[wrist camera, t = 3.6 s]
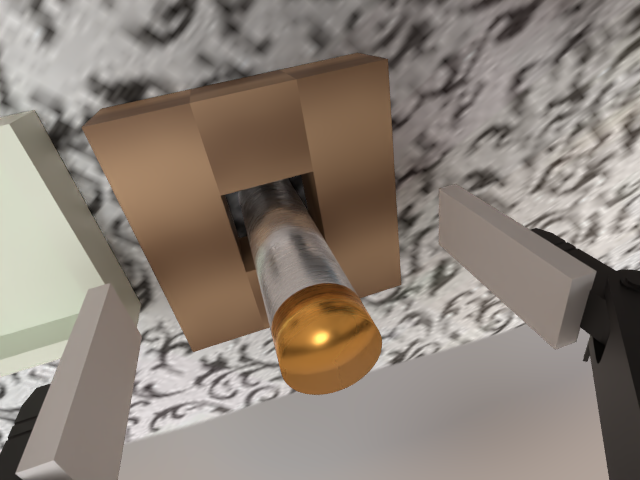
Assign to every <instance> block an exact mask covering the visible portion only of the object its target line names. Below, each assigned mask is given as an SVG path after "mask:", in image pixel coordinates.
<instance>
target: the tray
mask: <svg viewBox="0 0 640 480" xmlns="http://www.w3.org/2000/svg"><path fill="white" fill-rule="evenodd" d="M108 283H111V285H112V286H113V288H114V290H115V291H116V293H117V295H118V297H119V298H120V300H121V302H122V303H123V305H124V307H125V309H126V310H127V312H128V314H129V315H130V317H131V319H132V321H133V322H134V324H135V326H136V327H137V324H138V318H139V313H140V308H141V303H140V301H139V299H138V298H137V296H136V294H135V292H134V290H133V289H132V287H131V285H130V283H129V281H128V279H127V278H126V276H125V274H124V272H123V270H122V269H121V267H120V265H119V263H118V261H117V259H116V258H115V256H114V254H113V252H112V250H111V249H110V247H109V245H108V243H107V241H106V239H105V238H104V236H103V234H102V232H101V230H100V229H99V227H98V225H97V223H96V221H95V219H94V218H93V216H92V214H91V212H90V210H89V209H88V207H87V205H86V203H85V201H84V199H83V198H82V196H81V194H80V192H79V190H78V189H77V187H76V185H75V183H74V181H73V179H72V178H71V176H70V174H69V172H68V170H67V169H66V167H65V165H64V163H63V161H62V159H61V158H60V156H59V154H58V152H57V150H56V149H55V147H54V145H53V143H52V141H51V139H50V138H49V136H48V134H47V132H46V130H45V129H44V127H43V125H42V123H41V121H40V119H39V118H38V116H37V114H36V112H35V110H32V111H28V112H23V113H18V114H14V115H9V116H4V117H0V377H3V376H6V375H9V374H12V373H16V372H19V371H22V370H25V369H29V368H32V367H35V366H38V365H41V364H45V363H48V362H51V361H54V360H58V359H61V357H62V354H63V352H64V349H65V347H66V344H67V342H68V339H69V337H70V334H71V332H72V329H73V327H74V324H75V322H76V319H77V317H78V314H79V312H80V309H81V306H82V304H83V301H84V299H85V296H86V294H87V291H88V289H91V288H94V287H98V286H101V285H105V284H108Z"/></svg>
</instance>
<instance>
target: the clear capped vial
mask: <svg viewBox="0 0 640 480" xmlns="http://www.w3.org/2000/svg"><path fill="white" fill-rule="evenodd" d="M238 198H239V203H240V207H241V211H242V215H243V219H244V223H245V227H246V232H247V236H248V240H249V244H250V248H251V252H252V256H253V260H254V264H255V268H256V272H257V276H258V280H259V284H260V288H261V293H262V297H263V301H264V305H265V309H266V313H267V317H268V321H269V325H270V329H271V333H272V337H273V341H274V345H275V349H276V354H277V358H278V362H279V366H280V370H281V374H282V377H283V379H284V380H285V382H286V383H287V384H288V385H289V386H290V387H291V388H293V389H294V390H296V391H298V392H301V393H305V394H312V395H313V394H314V395H320V394H328V393H333V392H336V391H339V390H342V389H345V388H347V387H349V386H351V385H353V384H354V383H356V382H357V381H359V380H360V379H361V378H362V377H364V376H365V375H366V374H367V373H368V372H369V371H370V370H371V369H372V367H373V366H374V365H375V363H376V362H377V360H378V358H379V356H380V353H381V348H382V339H381V335H380V332H379V330H378V329H377V327H376V325H375V324H374V322H373V320H372V319H371V317H370V315H369V314H368V312H367V310H366V309H365V307H364V305H363V303H362V302H361V300H360V298H359V297H358V295H357V293H356V292H355V290H354V288H353V287H352V285H351V283H350V282H349V280H348V278H347V277H346V275H345V273H344V271H343V270H342V268H341V266H340V265H339V263H338V261H337V260H336V258H335V256H334V255H333V253H332V251H331V250H330V248H329V246H328V245H327V243H326V241H325V240H324V238H323V236H322V234H321V233H320V231H319V229H318V228H317V226H316V224H315V223H314V221H313V219H312V218H311V216H310V214H309V213H308V211H307V209H306V208H305V206H304V204H303V203H302V201H301V199H300V197H299V196H298V194H297V192H296V191H295V189H294V187H293V186H292V184H291V182H290V181H289V179H288V178H286V179H282V180H278V181H274V182H271V183H267V184H263V185H259V186H255V187H252V188H248V189H244V190H240V191H239V194H238Z"/></svg>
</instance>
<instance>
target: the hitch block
mask: <svg viewBox="0 0 640 480" xmlns="http://www.w3.org/2000/svg"><path fill="white" fill-rule="evenodd" d="M82 129H83V131H84V133H85V135H86V137H87V139H88V141H89V143H90V145H91V147H92V149H93V151H94V153H95V155H96V157H97V159H98V161H99V163H100V165H101V167H102V169H103V171H104V173H105V175H106V177H107V179H108V181H109V183H110V185H111V187H112V190H113V192H114V194H115V196H116V198H117V200H118V202H119V204H120V206H121V208H122V210H123V212H124V214H125V216H126V218H127V220H128V222H129V224H130V226H131V228H132V230H133V232H134V234H135V236H136V238H137V240H138V242H139V244H140V246H141V248H142V250H143V252H144V254H145V256H146V258H147V260H148V262H149V264H150V266H151V268H152V270H153V272H154V274H155V276H156V278H157V280H158V282H159V284H160V286H161V288H162V290H163V292H164V294H165V296H166V298H167V300H168V302H169V304H170V306H171V308H172V310H173V312H174V314H175V316H176V318H177V320H178V322H179V324H180V326H181V328H182V330H183V332H184V334H185V336H186V338H187V340H188V342H189V344H190V346H191V348H192V351H193V352H195V351H198V350H201V349H204V348H207V347H210V346H213V345H217V344H220V343H223V342H226V341H229V340H232V339H235V338H238V337H241V336H244V335H247V334H251V333H254V332H257V331H260V330H263V329H266V328H269V327H270V325H269V321H268V317H267V313H266V309H265V305H264V301H263V297H262V293H261V288H260V284H259V280H258V276H257V272H256V268H255V264H254V260H253V256H252V252H251V248H250V244H249V240H248V236H246V237H242V238H239V237H238V233H237V230H236V227H235V224H234V221H233V218H232V215H231V212H230V209H229V206H228V203H227V200H226V197H225V194H229V193H233V192H237V191H240V190H244V189H248V188H252V187H255V186H259V185H263V184H267V183H271V182H274V181H278V180H282V179H286V178H290V177H293V176H297V175H301V177H302V182H303V187H304V192H305V197H306V202H307V207H308V212H309V214H310V216H311V218H312V219H313V221H314V223H315V224H316V226H317V228H318V229H319V231H320V233H321V234H322V236H323V238H324V240H325V241H326V243H327V245H328V246H329V248H330V250H331V251H332V253H333V255H334V256H335V258H336V260H337V261H338V263H339V265H340V266H341V268H342V270H343V271H344V273H345V275H346V277H347V278H348V280H349V282H350V283H351V285H352V287H353V288H354V290H355V292H356V293H357V295H358V297H359V298H362V297H365V296H368V295H371V294H374V293H377V292H380V291H383V290H387V289H390V288H393V287H396V286H399V285H401V272H400V255H399V238H398V222H397V205H396V188H395V171H394V155H393V138H392V121H391V104H390V88H389V71H388V59H386V58H381V57H376V56H371V55H366V54H361V53H354V54H350V55H345V56H341V57H336V58H332V59H327V60H322V61H318V62H313V63H309V64H304V65H299V66H295V67H290V68H286V69H281V70H277V71H272V72H267V73H263V74H258V75H254V76H249V77H244V78H240V79H235V80H231V81H226V82H222V83H217V84H212V85H208V86H203V87H199V88H194V89H190V90H185V91H180V92H176V93H171V94H167V95H162V96H157V97H153V98H148V99H144V100H139V101H135V102H130V103H125V104H121V105H116V106H112V107H107V108H102V109H101V110H100V111H98V112H97V113H96V114H95V115H94V116H93V117H92V118H91V119H90V120H89V121H88V122H87V123H86V124H85V125H84V126H82Z"/></svg>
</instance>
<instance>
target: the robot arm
mask: <svg viewBox="0 0 640 480" xmlns="http://www.w3.org/2000/svg"><path fill="white" fill-rule="evenodd" d="M439 245H440V246H442V247H443V248H444V249H445V250H446V251H447V252H448V253H449V254H450V255H451V256H453V257H454V258H455V259H456V260H457V261H458V262H459V263H460V264H461V265H462V266H464V267H465V268H466V269H467V270H468V271H469V272H470V273H471V274H472V275H473V276H475V277H476V278H477V279H478V280H479V281H480V282H481V283H482V284H483V285H484V286H486V287H487V288H488V289H489V290H490V291H491V292H492V293H493V294H494V295H495V296H497V297H498V298H499V299H500V300H501V301H502V302H503V303H504V304H505V305H506V306H507V307H509V308H510V309H511V310H512V311H513V312H514V313H515V314H516V315H517V316H518V317H520V318H521V319H522V320H523V321H524V322H525V323H526V324H527V325H528V326H529V327H531V328H532V329H533V330H534V331H535V332H536V333H537V334H538V335H539V336H541V337H542V338H543V339H544V340H545V341H546V342H547V343H548V344H549V345H550V346H551V347H553V348H554V349H555V350H556V349H559V348H561V347H564V346H567V345H569V344H572V343H574V342H576V341H577V338H578V334H579V331H580V327H581V328H582V329H583V330H585V331H586V332H587V333H589V334H590V338H589V341H588V345H587V348H586V351H585V354H584V359H583V361H586V362H587V361H588V358H589V356H590V358H591V364H592V370H593V377H594V383H595V389H596V396H597V402H598V409H599V416H600V422H601V429H602V435H603V442H604V448H605V454H606V461H607V468H608V474H609V480H640V271H637V270H618V271H615V270H614V269H612V268H610V267H608V266H607V265H605V264H603V263H602V262H600V261H598V260H597V259H595V258H593V257H592V256H590V255H588V254H587V253H585V252H583V251H581V250H580V249H576V247H575V246H573V245H571V244H570V243H568V242H567V243H566V242H565V240H563V239H561V238H559V237H558V236H556V235H554V234H553V233H550V232H547V231H544V230H540V229H537V228H535V229H531V230H529V229H528V228H526V227H524V226H523V225H521V224H520V223H518V222H516V221H515V220H513V219H512V218H510V217H508V216H507V215H505V214H504V213H502V212H500V211H499V210H497V209H495V208H494V207H492V206H491V205H489V204H487V203H486V202H484V201H483V200H481V199H479V198H478V197H476V196H475V195H473V194H471V193H470V192H468V191H466V190H465V189H463V188H462V187H460V186H458V185H457V184H454V185H450V186H447V187H443V188H440V189H439ZM141 338H142V336H141V334H140V333H139V331H138V329H137V327H136V326H135V324H134V322H133V321H132V319H131V317H130V315H129V314H128V312H127V310H126V309H125V307H124V305H123V303H122V302H121V300H120V298H119V297H118V295H117V293H116V291H115V290H114V288H113V286H112V285H111V283H108V284H105V285H101V286H98V287H94V288H91V289H88V291H87V294H86V296H85V299H84V301H83V304H82V306H81V309H80V312H79V314H78V317H77V319H76V322H75V324H74V327H73V329H72V332H71V334H70V337H69V339H68V342H67V344H66V347H65V349H64V352H63V354H62V357H61V359H60V362H59V364H58V367H57V370H56V372H55V375H54V377H53V380H52V382H51V384H48V385H45V386H42V387H38V388H36V389H35V390H34V392H33V393H32V394H31V395H30V397H29V398H28V399H27V400H26V401H25V403H24V404H23V405H22V407H21V409H20V411H19V414H18V416H17V418H16V420H15V422H14V423H15V426H13V427H12V429H11V431H10V434H9V436H8V441H6V443H5V445H4V447H3V449H2V451H1V454H0V480H118V475H119V470H120V463H121V458H122V452H123V445H124V440H125V434H126V428H127V422H128V416H129V410H130V404H131V398H132V392H133V386H134V380H135V374H136V368H137V362H138V356H139V350H140V344H141Z"/></svg>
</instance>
